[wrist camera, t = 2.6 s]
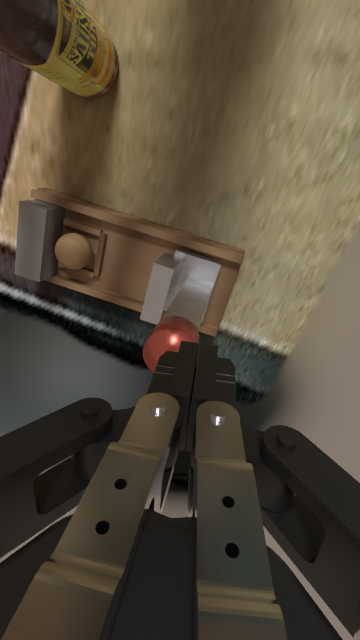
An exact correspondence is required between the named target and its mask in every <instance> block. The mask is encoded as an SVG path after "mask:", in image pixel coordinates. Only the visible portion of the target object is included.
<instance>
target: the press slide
mask: <svg viewBox="0 0 360 640" xmlns="http://www.w3.org/2000/svg"><path fill="white" fill-rule="evenodd" d="M221 264H222V262H221V261H218V260H215V259H212V258H209V257H205V256H202V255H199V254H196V253H193V252H190V251H187V250H183V249H180V248H178V249H177V250H176V251H175V255H173V254H170V253H167V252H165V253H164V254H163V255H162V256H161V257H160V258H158V259H157V260H156V261H155V262H154V263H153V267H152V271H151V275H150V279H149V283H148V288H147V292H146V296H145V300H144V304H143V308H142V312H141V316H140V319H141V320H144V321H147V322H150V323H153V324H156V327H155V328H154V330H153V332H152V333H151V335H150V336H149V338H148V340H147V341H146V343H145V345H144V348H143V358H144V361H145V363H146V365H147V366H148V368H149V369H150V370H151V371H152V372H154V373H155V369H156V366H157V363H158V360H159V357H160V356H161V355H163V354H164V353H165V352H166V351H172V352H179V348H180V344H181V341H188V342H196V343H199V340H200V339H199V333H198V329H199V326H200V324H201V323H202V321H203V318H204V315H205V312H206V309H207V306H208V303H209V300H210V297H211V294H212V291H213V288H214V285H215V282H216V279H217V276H218V273H219V270H220V267H221Z"/></svg>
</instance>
